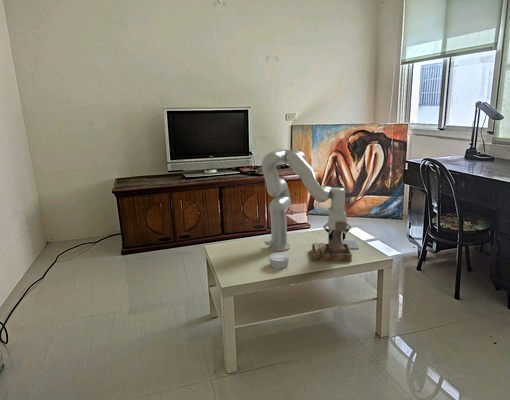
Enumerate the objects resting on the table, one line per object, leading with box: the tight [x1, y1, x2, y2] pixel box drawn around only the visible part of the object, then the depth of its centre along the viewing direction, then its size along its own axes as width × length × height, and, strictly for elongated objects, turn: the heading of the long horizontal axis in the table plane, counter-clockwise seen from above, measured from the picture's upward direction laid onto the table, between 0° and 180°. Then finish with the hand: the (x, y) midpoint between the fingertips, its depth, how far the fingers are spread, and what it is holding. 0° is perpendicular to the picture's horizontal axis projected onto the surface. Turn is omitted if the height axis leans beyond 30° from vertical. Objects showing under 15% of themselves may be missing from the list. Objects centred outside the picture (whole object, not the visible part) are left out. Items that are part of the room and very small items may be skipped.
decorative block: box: [327, 222, 348, 254], centre depth 205 cm, size 11×6×20 cm, turn 18°
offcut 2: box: [319, 242, 325, 254], centre depth 207 cm, size 2×10×6 cm, turn 174°
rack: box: [311, 243, 353, 262], centre depth 207 cm, size 21×17×4 cm
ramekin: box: [268, 252, 290, 270], centre depth 197 cm, size 11×11×5 cm
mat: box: [342, 240, 359, 250], centre depth 221 cm, size 9×13×1 cm
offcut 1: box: [313, 242, 320, 254], centre depth 208 cm, size 2×10×6 cm, turn 174°
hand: (336, 239), depth 205 cm, fingers closed on decorative block, 6 cm apart
